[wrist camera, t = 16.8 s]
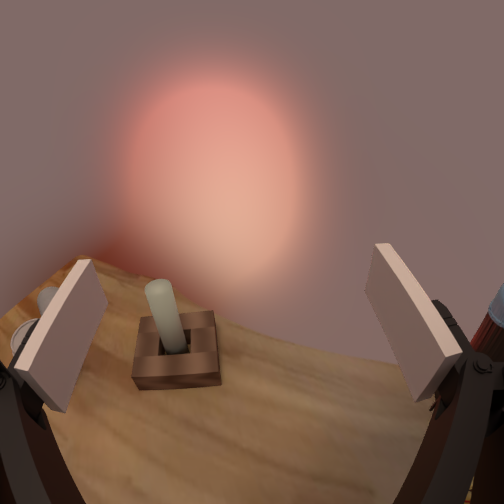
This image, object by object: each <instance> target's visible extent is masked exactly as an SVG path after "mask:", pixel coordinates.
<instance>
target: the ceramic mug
mask: <svg viewBox="0 0 504 504" xmlns="http://www.w3.org/2000/svg"><path fill="white" fill-rule="evenodd" d="M58 290H59V288H57V287H47V288H45V289H43V290H42V291H41V292H40V293H39V295H38V299H37V304H38V307H39V311H40V314H41V317H42V315H43V314H44V312H45V310H46V309H47V307H48V305H49V304H50V302H51V300H52V299H53V297H54V296H55V294H56V293H57V291H58Z"/></svg>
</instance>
